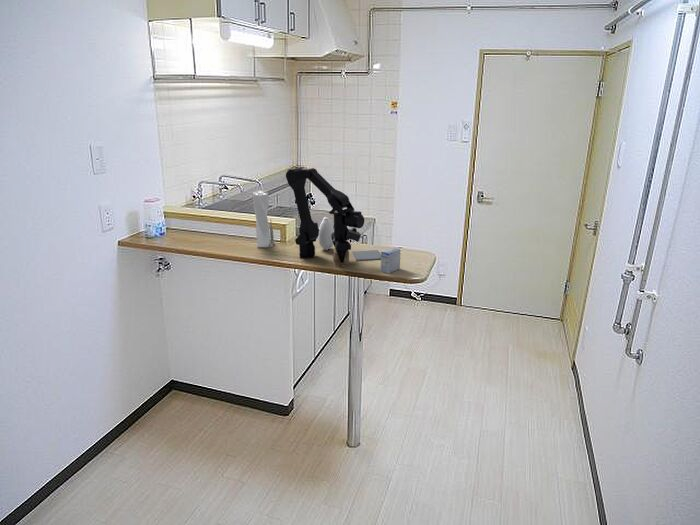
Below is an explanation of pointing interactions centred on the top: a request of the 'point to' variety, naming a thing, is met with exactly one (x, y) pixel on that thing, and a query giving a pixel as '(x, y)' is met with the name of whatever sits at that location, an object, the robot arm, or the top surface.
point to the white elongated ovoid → (325, 234)
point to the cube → (337, 260)
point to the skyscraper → (262, 220)
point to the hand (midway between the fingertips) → (341, 260)
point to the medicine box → (390, 260)
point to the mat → (367, 255)
